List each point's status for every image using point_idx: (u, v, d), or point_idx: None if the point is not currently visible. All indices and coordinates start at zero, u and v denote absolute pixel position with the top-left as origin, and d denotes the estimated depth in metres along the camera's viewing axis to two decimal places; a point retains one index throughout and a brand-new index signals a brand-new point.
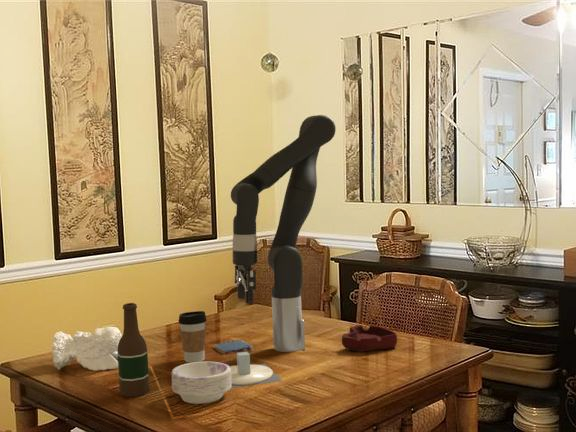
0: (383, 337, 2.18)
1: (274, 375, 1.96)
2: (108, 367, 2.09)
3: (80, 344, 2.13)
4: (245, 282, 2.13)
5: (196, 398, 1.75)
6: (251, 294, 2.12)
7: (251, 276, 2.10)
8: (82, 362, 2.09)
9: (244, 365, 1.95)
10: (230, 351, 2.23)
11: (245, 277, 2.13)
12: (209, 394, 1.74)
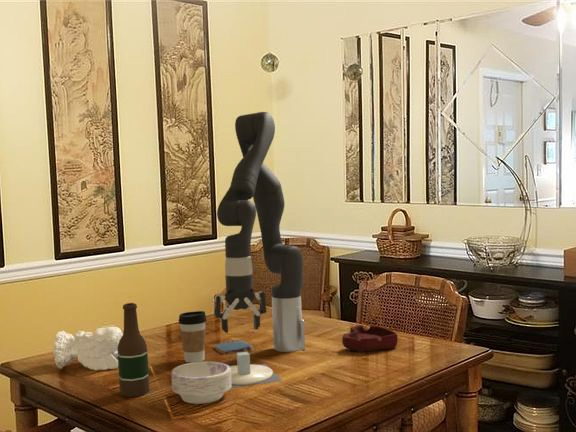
0: (384, 337, 2.18)
1: (274, 375, 1.96)
2: (109, 367, 2.09)
3: (81, 344, 2.14)
4: (255, 307, 1.95)
5: (196, 398, 1.75)
6: None
7: None
8: (83, 362, 2.10)
9: (244, 365, 1.95)
10: (230, 351, 2.23)
11: (251, 302, 1.95)
12: (209, 394, 1.74)
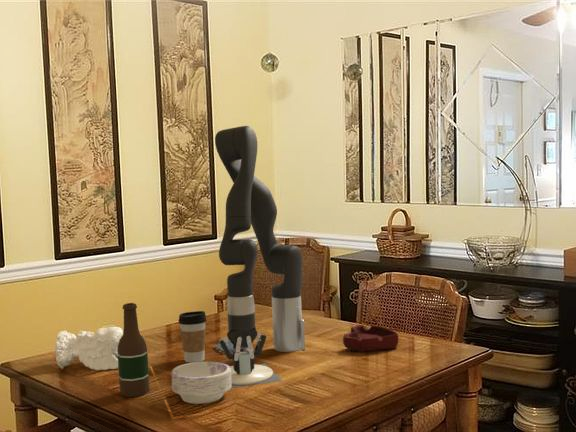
0: (384, 337, 2.18)
1: (274, 375, 1.96)
2: (110, 367, 2.09)
3: (83, 343, 2.14)
4: (252, 348, 1.96)
5: (196, 398, 1.75)
6: None
7: None
8: (84, 361, 2.10)
9: (244, 365, 1.95)
10: (230, 351, 2.23)
11: None
12: (209, 394, 1.74)
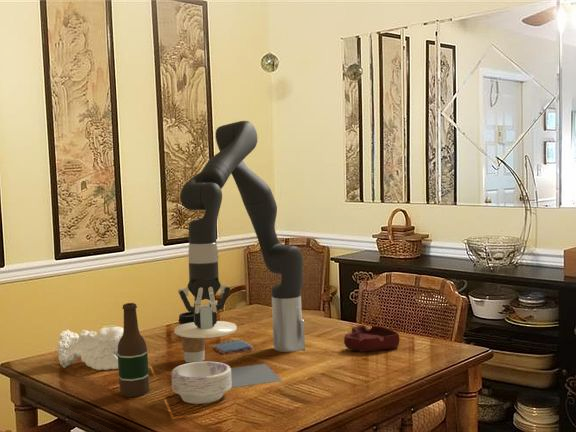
0: (385, 337, 2.18)
1: (274, 375, 1.96)
2: (111, 367, 2.09)
3: (86, 343, 2.14)
4: (214, 301, 1.82)
5: (196, 398, 1.75)
6: None
7: None
8: (86, 361, 2.10)
9: (205, 318, 1.81)
10: (230, 351, 2.23)
11: None
12: (209, 394, 1.74)
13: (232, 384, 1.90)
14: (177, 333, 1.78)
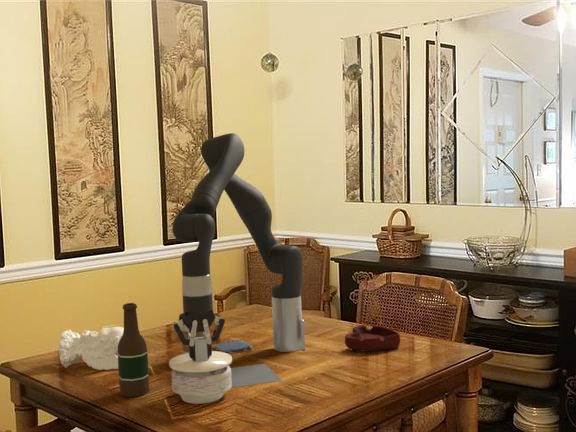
0: (386, 337, 2.17)
1: (274, 375, 1.96)
2: (112, 367, 2.09)
3: (87, 343, 2.14)
4: (209, 333, 1.80)
5: (196, 398, 1.75)
6: None
7: None
8: (87, 361, 2.10)
9: (200, 351, 1.79)
10: (230, 351, 2.23)
11: None
12: (209, 394, 1.74)
13: (232, 384, 1.90)
14: (172, 367, 1.76)
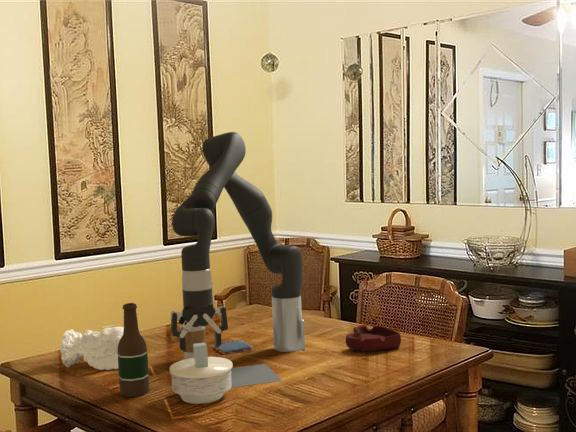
0: (387, 337, 2.17)
1: (274, 375, 1.96)
2: (113, 367, 2.09)
3: (89, 343, 2.14)
4: None
5: (196, 398, 1.75)
6: None
7: None
8: (88, 361, 2.10)
9: (201, 357, 1.79)
10: (230, 351, 2.23)
11: (211, 318, 1.80)
12: (209, 394, 1.74)
13: (232, 384, 1.90)
14: (172, 373, 1.76)
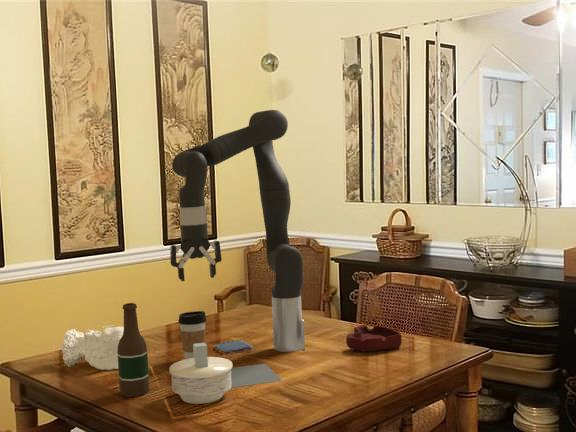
0: (388, 337, 2.17)
1: (274, 375, 1.96)
2: (114, 367, 2.09)
3: (90, 343, 2.14)
4: None
5: (196, 398, 1.75)
6: None
7: None
8: (90, 361, 2.10)
9: (201, 357, 1.79)
10: (230, 351, 2.23)
11: (206, 251, 2.00)
12: (209, 394, 1.74)
13: (232, 384, 1.90)
14: (172, 373, 1.76)
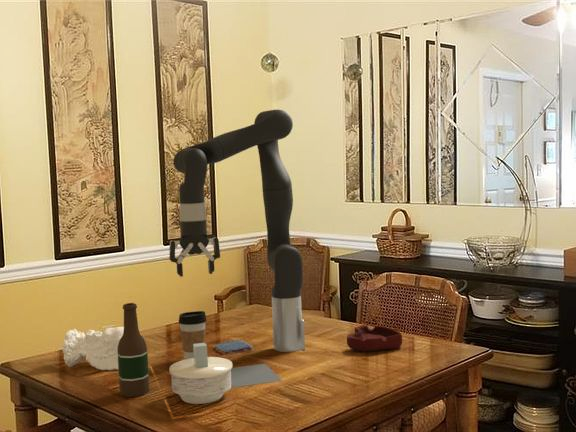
0: (388, 337, 2.17)
1: (274, 375, 1.96)
2: (115, 367, 2.09)
3: (91, 343, 2.14)
4: (209, 252, 2.03)
5: (196, 398, 1.75)
6: None
7: None
8: (90, 361, 2.10)
9: (201, 357, 1.79)
10: (230, 351, 2.23)
11: (205, 247, 2.02)
12: (209, 394, 1.74)
13: (232, 384, 1.90)
14: (172, 373, 1.76)
